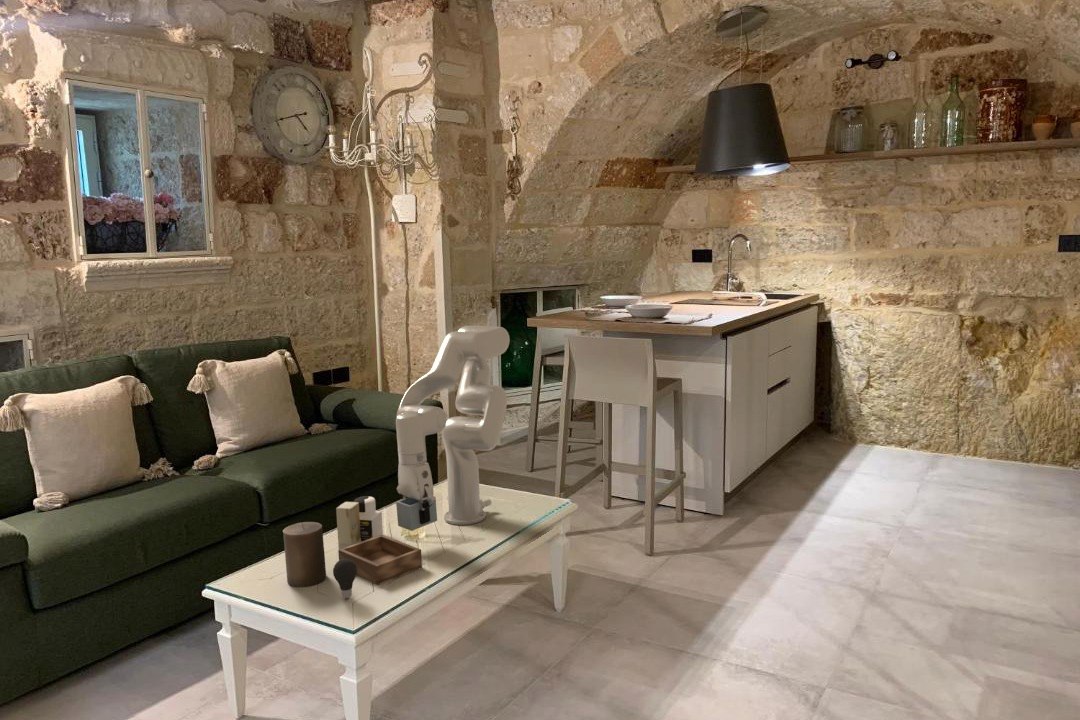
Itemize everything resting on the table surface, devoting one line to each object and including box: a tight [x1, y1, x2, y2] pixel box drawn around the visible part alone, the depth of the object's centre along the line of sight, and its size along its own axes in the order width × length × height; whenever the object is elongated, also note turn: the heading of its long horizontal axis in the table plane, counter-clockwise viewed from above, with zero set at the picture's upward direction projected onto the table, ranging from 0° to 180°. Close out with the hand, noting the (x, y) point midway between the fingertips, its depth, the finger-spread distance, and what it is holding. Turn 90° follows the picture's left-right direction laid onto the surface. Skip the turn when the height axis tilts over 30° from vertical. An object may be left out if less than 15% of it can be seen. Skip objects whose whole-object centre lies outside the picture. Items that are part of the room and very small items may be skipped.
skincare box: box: [335, 501, 361, 550], centre depth 233 cm, size 6×4×12 cm
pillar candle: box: [282, 521, 327, 587], centre depth 211 cm, size 10×10×15 cm
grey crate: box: [395, 496, 438, 532], centre depth 230 cm, size 9×6×7 cm, turn 137°
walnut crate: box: [337, 534, 423, 586], centre depth 218 cm, size 14×17×5 cm
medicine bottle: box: [353, 495, 384, 542], centre depth 239 cm, size 7×7×12 cm
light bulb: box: [332, 559, 357, 601], centre depth 199 cm, size 6×6×10 cm
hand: (417, 519), depth 230 cm, fingers closed on grey crate, 6 cm apart
